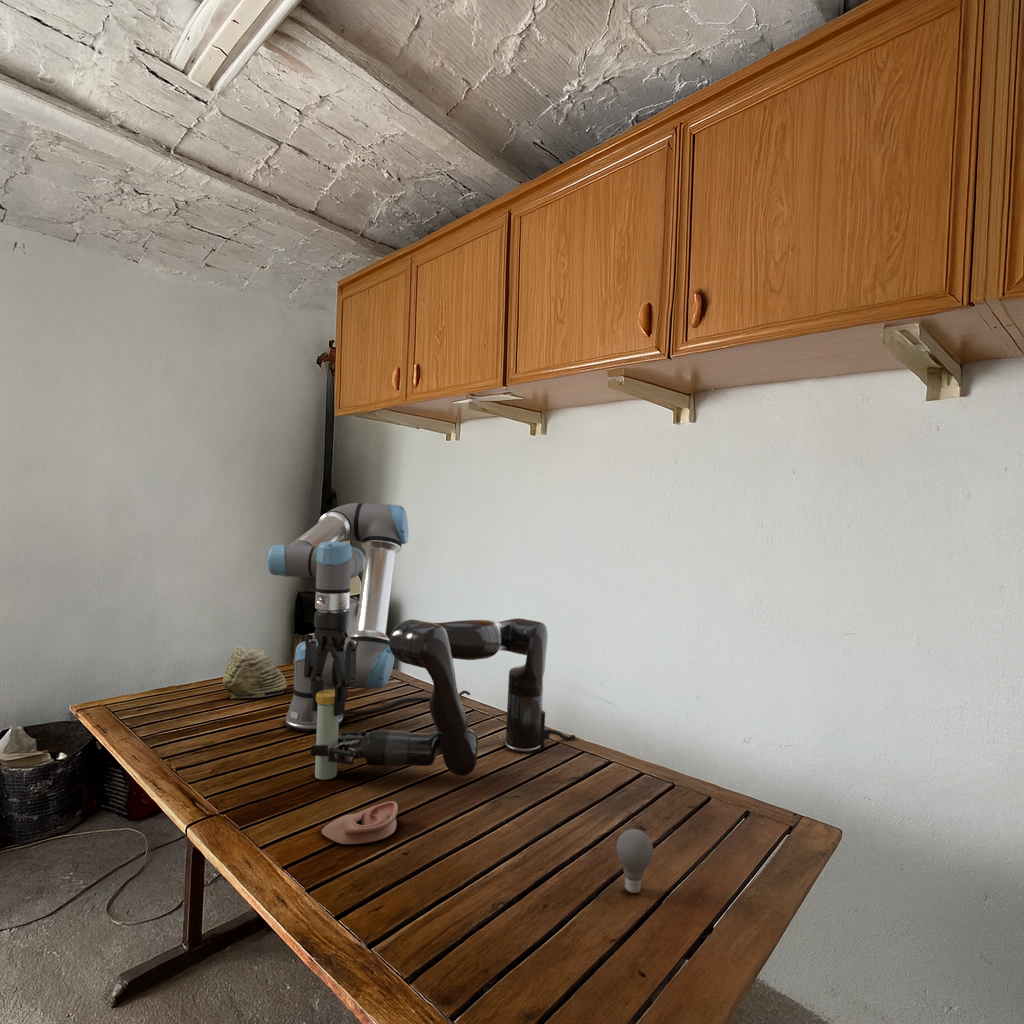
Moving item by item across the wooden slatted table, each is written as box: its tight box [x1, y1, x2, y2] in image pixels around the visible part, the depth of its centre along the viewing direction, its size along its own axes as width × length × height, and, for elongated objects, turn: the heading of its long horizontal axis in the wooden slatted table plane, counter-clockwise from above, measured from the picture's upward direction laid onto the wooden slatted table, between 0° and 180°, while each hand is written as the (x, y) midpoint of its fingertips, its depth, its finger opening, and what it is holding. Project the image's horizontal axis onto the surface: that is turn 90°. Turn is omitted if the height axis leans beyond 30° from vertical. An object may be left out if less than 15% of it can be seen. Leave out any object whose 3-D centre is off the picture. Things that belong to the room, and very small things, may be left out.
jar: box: [314, 703, 340, 781], centre depth 144 cm, size 5×5×18 cm
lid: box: [316, 689, 335, 705], centre depth 144 cm, size 6×6×2 cm
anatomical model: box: [321, 800, 399, 845], centre depth 121 cm, size 13×4×12 cm
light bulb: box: [615, 828, 654, 894], centre depth 106 cm, size 6×6×10 cm
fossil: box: [222, 646, 288, 699], centre depth 198 cm, size 9×18×15 cm, turn 132°
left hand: (328, 711), depth 144 cm, fingers closed on lid, 5 cm apart
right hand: (315, 745), depth 144 cm, fingers closed on jar, 4 cm apart
